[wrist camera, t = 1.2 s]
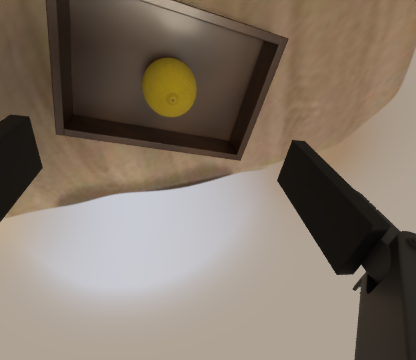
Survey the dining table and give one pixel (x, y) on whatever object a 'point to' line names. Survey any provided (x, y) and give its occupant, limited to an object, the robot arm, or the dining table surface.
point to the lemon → (169, 87)
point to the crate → (141, 59)
